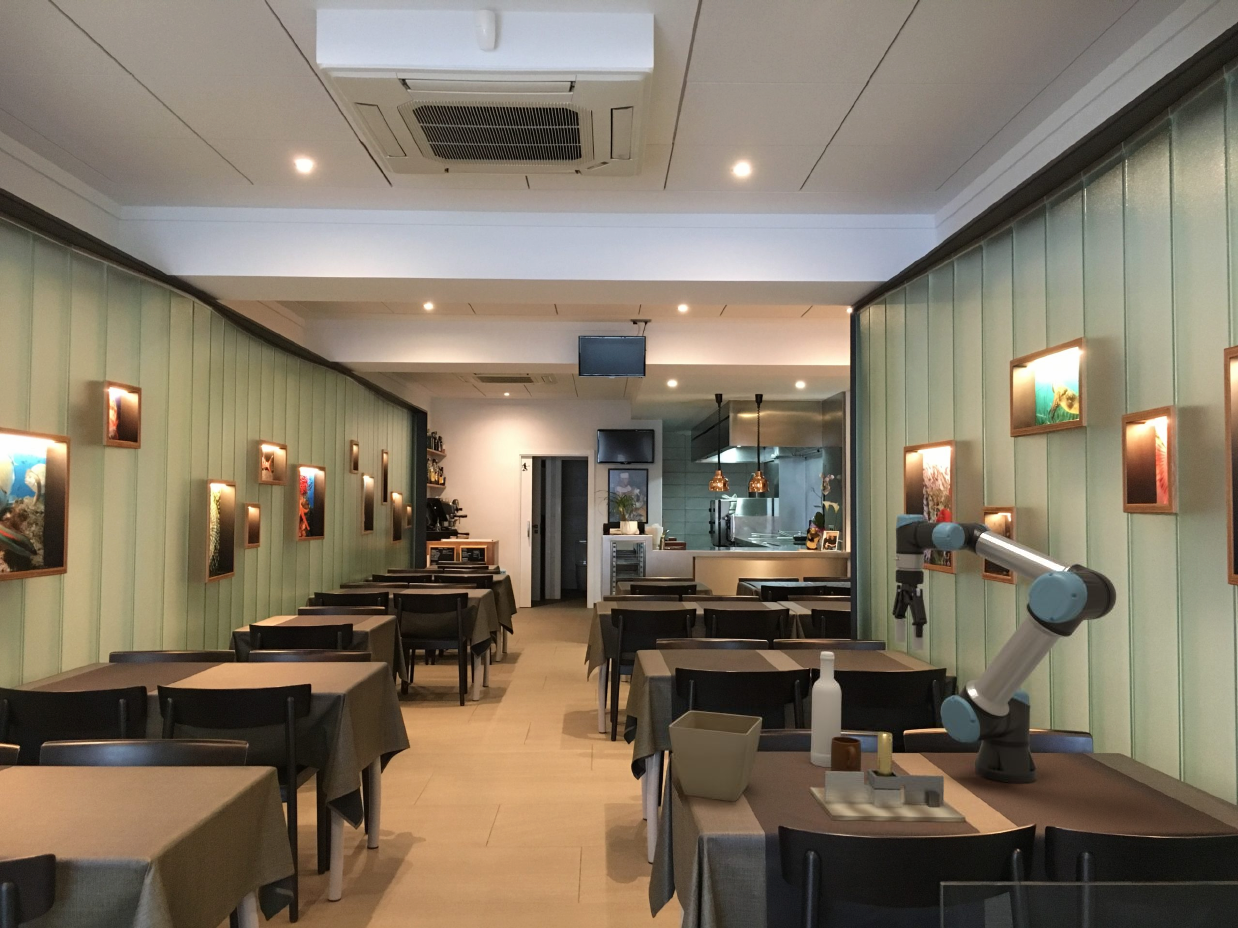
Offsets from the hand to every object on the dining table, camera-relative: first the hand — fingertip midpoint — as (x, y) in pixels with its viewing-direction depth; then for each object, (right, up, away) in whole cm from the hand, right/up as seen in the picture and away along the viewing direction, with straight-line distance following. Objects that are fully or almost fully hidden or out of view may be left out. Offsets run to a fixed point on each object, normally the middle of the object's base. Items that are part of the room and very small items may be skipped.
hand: (908, 645), depth 253 cm
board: (-19, -29, -41) cm, 54 cm away
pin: (-19, -28, -42) cm, 54 cm away
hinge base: (-20, -28, -42) cm, 55 cm away
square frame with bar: (-14, -28, -42) cm, 52 cm away
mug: (-22, -30, -20) cm, 43 cm away
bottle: (-25, -31, -6) cm, 40 cm away
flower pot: (-58, -29, -34) cm, 73 cm away
